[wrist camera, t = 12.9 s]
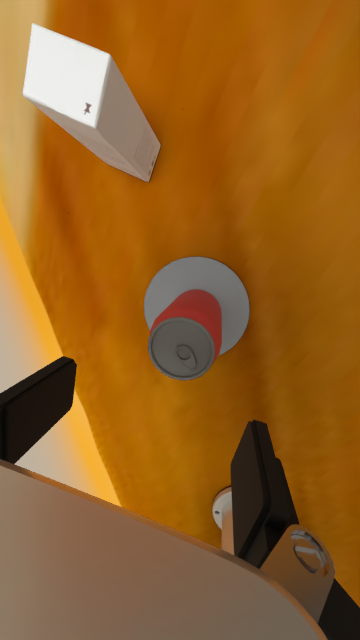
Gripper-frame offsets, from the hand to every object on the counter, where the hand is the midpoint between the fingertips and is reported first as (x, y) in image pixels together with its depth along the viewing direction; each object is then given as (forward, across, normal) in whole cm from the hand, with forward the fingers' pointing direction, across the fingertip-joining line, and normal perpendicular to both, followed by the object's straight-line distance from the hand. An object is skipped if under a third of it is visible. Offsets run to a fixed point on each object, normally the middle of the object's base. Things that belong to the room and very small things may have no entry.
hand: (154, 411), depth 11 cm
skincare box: (+20, +12, -17) cm, 29 cm away
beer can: (+19, 0, -1) cm, 19 cm away
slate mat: (+20, 0, -1) cm, 20 cm away
